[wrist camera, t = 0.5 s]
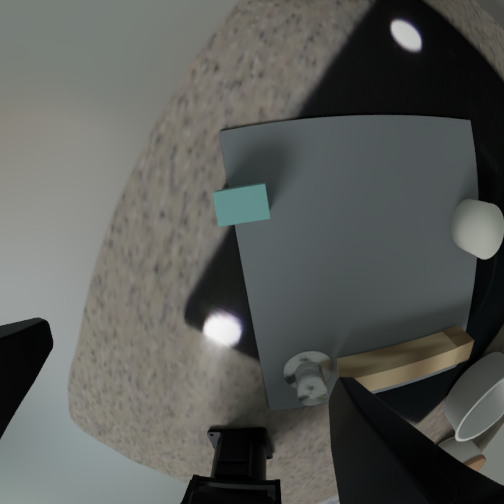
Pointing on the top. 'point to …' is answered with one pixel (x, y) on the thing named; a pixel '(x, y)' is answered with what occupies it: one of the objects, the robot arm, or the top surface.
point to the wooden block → (407, 359)
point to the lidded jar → (464, 452)
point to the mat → (352, 236)
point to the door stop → (477, 227)
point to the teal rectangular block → (241, 204)
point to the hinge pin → (309, 375)
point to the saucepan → (477, 397)
